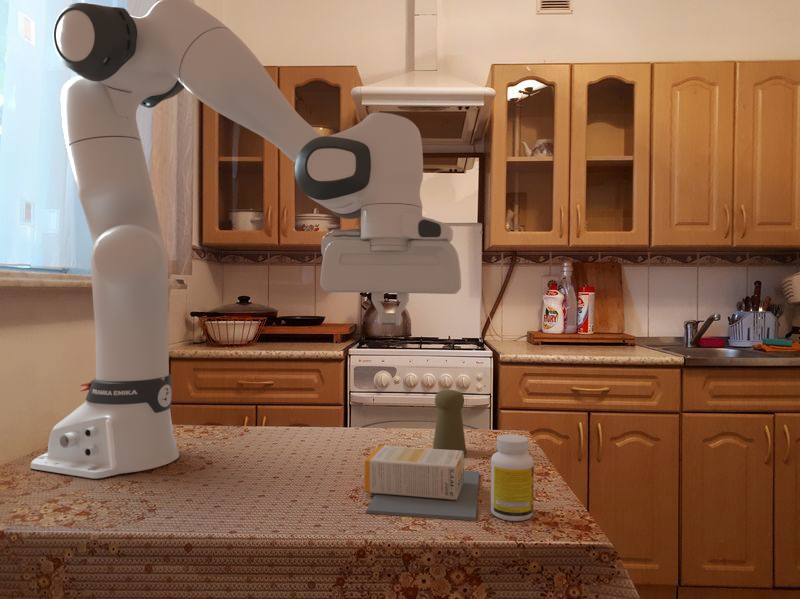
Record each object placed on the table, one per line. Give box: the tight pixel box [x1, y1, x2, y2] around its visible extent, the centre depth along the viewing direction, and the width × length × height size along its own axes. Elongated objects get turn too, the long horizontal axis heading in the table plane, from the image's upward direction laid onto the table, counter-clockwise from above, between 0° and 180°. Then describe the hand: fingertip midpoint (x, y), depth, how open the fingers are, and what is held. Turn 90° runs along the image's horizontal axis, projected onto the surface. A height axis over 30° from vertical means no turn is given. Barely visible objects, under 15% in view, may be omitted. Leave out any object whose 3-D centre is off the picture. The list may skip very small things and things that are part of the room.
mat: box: [365, 470, 480, 522], centre depth 79 cm, size 14×18×1 cm
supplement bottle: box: [490, 433, 535, 522], centre depth 71 cm, size 5×5×10 cm
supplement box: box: [363, 445, 465, 500], centre depth 79 cm, size 8×5×13 cm
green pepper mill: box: [432, 389, 467, 456], centre depth 98 cm, size 6×6×11 cm
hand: (389, 325), depth 80 cm, fingers closed
